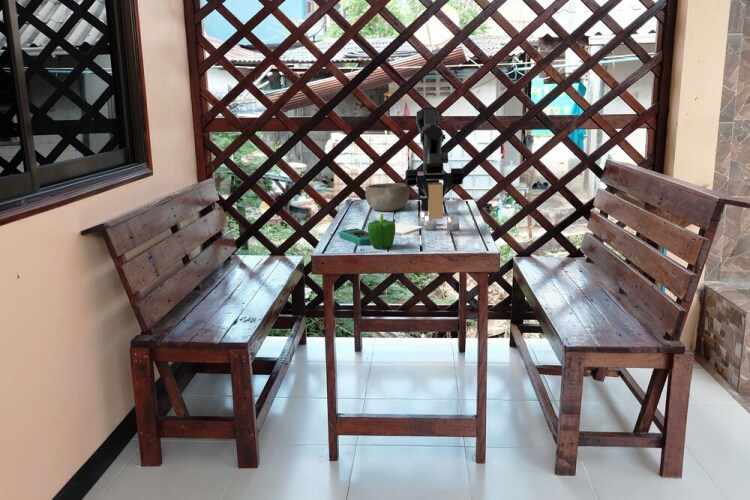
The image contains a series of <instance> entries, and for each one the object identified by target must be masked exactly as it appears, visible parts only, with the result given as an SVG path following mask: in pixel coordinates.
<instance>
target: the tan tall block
mask: <svg viewBox="0 0 750 500" xmlns="http://www.w3.org/2000/svg"><path fill="white" fill-rule="evenodd" d="M428 193H429V199H428V217H429V219H436V220H440V219H441V220H442V219H443V218H444V212H443V211H444V210H443V209H444V208H443V207H444V205H443V203H444V202H443V200H444V198H443V182H439V183H428Z"/></svg>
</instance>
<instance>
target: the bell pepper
mask: <svg viewBox="0 0 750 500" xmlns="http://www.w3.org/2000/svg"><path fill="white" fill-rule="evenodd" d="M367 232H368V235H369V239H370V242H371V244H370V245H371V246H372V247H373V248H375V249H382V248H384V249H387V248H389V249H390V248H392V246H393V244H394V242H395V241H394V240H395V237H396V233H395V221H392V220H387V219H384V214H383V213H380V215H379V220H378V219H374V220H372V221H371V222H368V225H367Z"/></svg>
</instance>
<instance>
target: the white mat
mask: <svg viewBox="0 0 750 500" xmlns="http://www.w3.org/2000/svg"><path fill="white" fill-rule="evenodd" d="M394 223H395V222H394ZM421 229H424V226H420V225H413V224H405V223H397V222H396V223H395V234H396V235H398V234H399V235H407V234H410V233H414V232H417V231H418V230H421Z"/></svg>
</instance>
